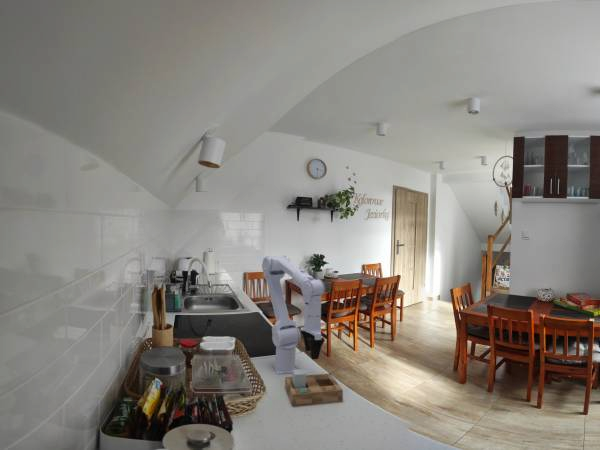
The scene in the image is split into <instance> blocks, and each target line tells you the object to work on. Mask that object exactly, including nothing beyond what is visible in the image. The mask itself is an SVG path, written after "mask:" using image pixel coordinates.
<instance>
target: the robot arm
mask: <svg viewBox="0 0 600 450" xmlns="http://www.w3.org/2000/svg"><path fill="white" fill-rule="evenodd" d="M261 268H262V272H263V276H264V279H265V280H266V283H267V287H268V292H269V296H270V300H271V303H272V309H273V312H274V316H275V323H274V325H272V327H271V334H272V336H271V339H272V343H273V344H274V346H275V362H273V367H274V370H275V373H276V374H277V375H282V374H292V373H293V370H298V368H297V367H296V351H297V350H296V347H297V346H298V343H299V342H300V340H301V336H302V338H303V341H304V348H305V351H306V352H310V357H311V359H312V360H318V359H319V357H320V354H321V349H322V346H323V344H324V343H325V341H326V339H325V338H324V337H322V325H321V324H322V321H321V320H322V296H323V295H324V294H325V293H326V292H325V291H326V286H325V284H324V281H323V280H322V279H320V278H316V279H315V278H314V276H312V275H310V274H308V272H306V270H305V269H304V268H303V269H300V268H299V269H298V268H297V267H295V265H294V264H293V263H292V262H291V260H290V258H289V257H287V255H278V256H277V255H276V256H267V255H266V256H264V257H263V260H262V263H261ZM285 275H288V276H290V277H291V282H292V283H294V284H295V285H296V286H297V287H298V288H299V289H301V294H302V296H303V297H302V299H303V302H304V311H303V312H304V313H303V314H304V316H303V318H304V320H303V321H304V322H303V327H300V329H299V327H298V326H297V322H296V321H294V320H293V319H291V318H290V316H289V310H288V308H287V303H286V300H285V295H284V292H283V288H282V284H281V279H282V278H284V277H285Z"/></svg>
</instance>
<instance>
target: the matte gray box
mask: <svg viewBox="0 0 600 450" xmlns="http://www.w3.org/2000/svg"><path fill="white" fill-rule="evenodd" d="M291 374H292V375H291V377H292V386H293V388H294V389H298V388H306V375H307V374H306V371H305V370H304V369H303V368H301V369H297V370H293V373H291Z"/></svg>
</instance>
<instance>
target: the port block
mask: <svg viewBox="0 0 600 450" xmlns="http://www.w3.org/2000/svg"><path fill="white" fill-rule="evenodd" d="M284 377H285V378H284V387H285V388H284V389H285V392H286V393H287V396H288V398H289V401H290V403H291V406H292V407H299V406H311V405H318V404H322V405H323V404H329V403H340V402H343V399H344V398H343V397H344V395H343V393H344V391H343V388H342V387H341V386H340V384H339V383H338V382H337V380H336V379H335V378H334V377H333V374H331V373H323V374H321V373H320V374H309V375H307V374H306V388H298V389H294V388H293V386H292V376H284Z"/></svg>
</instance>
